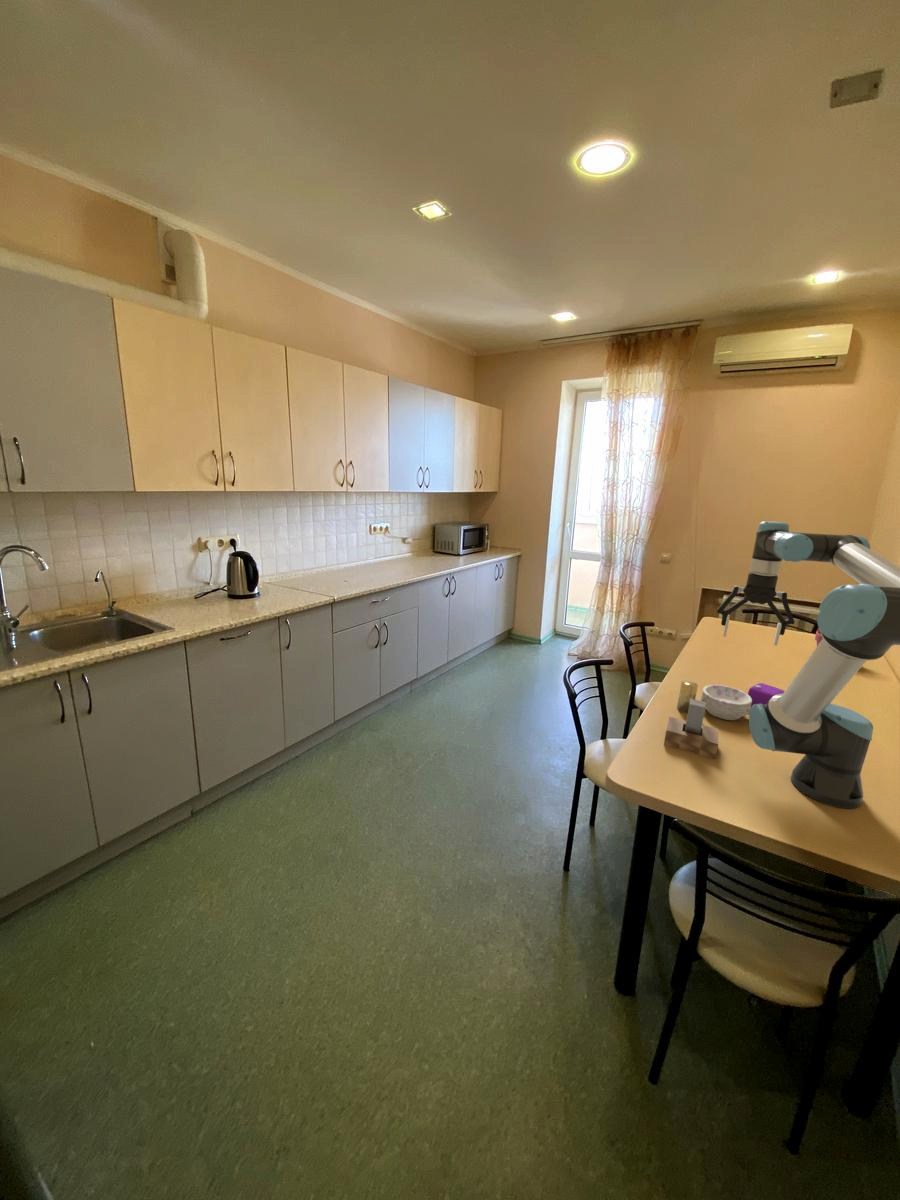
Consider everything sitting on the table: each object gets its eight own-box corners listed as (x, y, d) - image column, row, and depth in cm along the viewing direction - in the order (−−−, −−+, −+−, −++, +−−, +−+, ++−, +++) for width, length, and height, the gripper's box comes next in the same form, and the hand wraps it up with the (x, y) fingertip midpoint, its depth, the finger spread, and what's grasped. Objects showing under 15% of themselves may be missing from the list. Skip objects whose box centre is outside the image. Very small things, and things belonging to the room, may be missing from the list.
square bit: (697, 742, 147) (705, 702, 143) (697, 749, 143) (705, 707, 140) (682, 738, 149) (690, 698, 145) (681, 745, 145) (689, 703, 142)
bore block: (715, 743, 147) (718, 729, 146) (715, 759, 138) (718, 744, 137) (667, 730, 153) (669, 716, 152) (663, 744, 145) (666, 730, 144)
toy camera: (785, 710, 171) (791, 685, 168) (778, 723, 161) (784, 697, 158) (751, 700, 178) (756, 676, 175) (742, 712, 168) (748, 686, 166)
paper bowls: (702, 719, 162) (706, 698, 160) (696, 700, 176) (700, 681, 174) (752, 728, 157) (757, 707, 155) (742, 708, 171) (746, 688, 169)
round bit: (693, 708, 169) (698, 682, 167) (692, 714, 165) (697, 688, 162) (677, 704, 172) (682, 679, 169) (676, 710, 167) (680, 684, 165)
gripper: (812, 576, 139) (796, 644, 144) (716, 566, 151) (704, 629, 156) (816, 581, 133) (799, 651, 138) (716, 569, 144) (704, 635, 150)
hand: (749, 639), depth 147 cm, fingers open, 13 cm apart
